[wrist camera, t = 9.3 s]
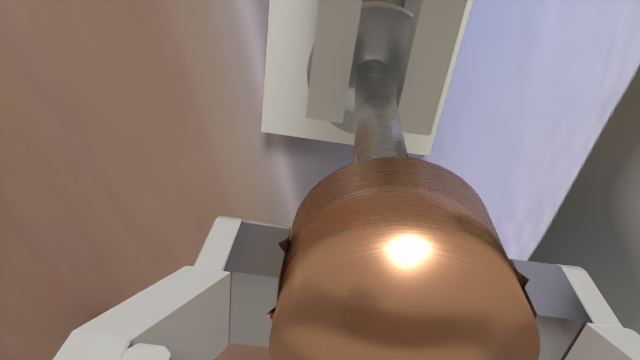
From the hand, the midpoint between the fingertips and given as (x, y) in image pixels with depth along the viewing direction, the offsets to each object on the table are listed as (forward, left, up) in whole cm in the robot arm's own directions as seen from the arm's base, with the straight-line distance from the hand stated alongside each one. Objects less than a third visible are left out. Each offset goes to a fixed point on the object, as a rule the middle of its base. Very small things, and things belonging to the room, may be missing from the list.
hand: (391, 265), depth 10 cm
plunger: (0, 0, -14) cm, 14 cm away
